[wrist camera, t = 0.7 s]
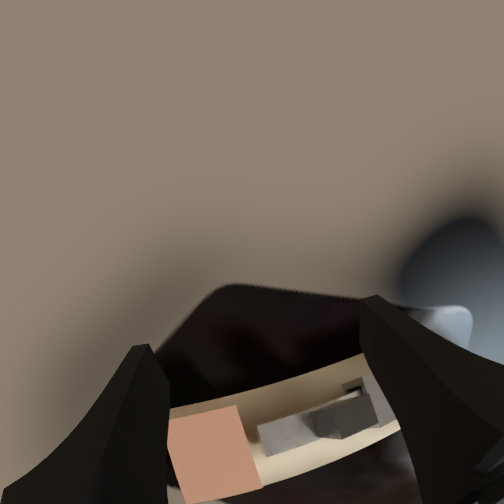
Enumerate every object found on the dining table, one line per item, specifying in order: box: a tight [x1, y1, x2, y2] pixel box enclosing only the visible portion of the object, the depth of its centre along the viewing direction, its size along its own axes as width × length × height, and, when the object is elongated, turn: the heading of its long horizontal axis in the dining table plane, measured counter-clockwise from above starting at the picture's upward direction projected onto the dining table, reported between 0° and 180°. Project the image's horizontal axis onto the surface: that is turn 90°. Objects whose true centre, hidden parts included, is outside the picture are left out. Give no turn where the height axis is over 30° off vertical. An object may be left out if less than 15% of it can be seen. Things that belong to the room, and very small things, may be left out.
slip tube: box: [253, 387, 379, 457], centre depth 20 cm, size 2×15×7 cm, turn 106°
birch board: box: [169, 353, 400, 486], centre depth 23 cm, size 8×23×1 cm, turn 106°
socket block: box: [167, 405, 263, 504], centre depth 19 cm, size 6×5×5 cm
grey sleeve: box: [341, 372, 396, 429], centre depth 23 cm, size 4×8×4 cm, turn 106°
